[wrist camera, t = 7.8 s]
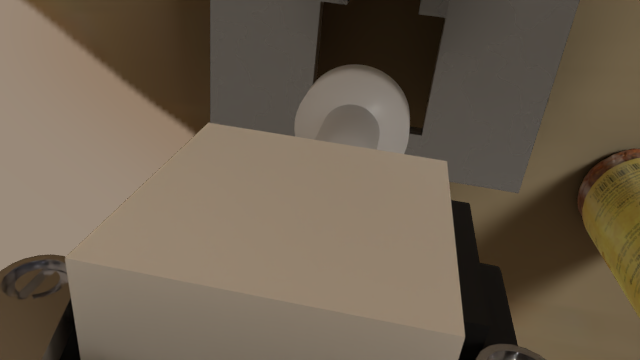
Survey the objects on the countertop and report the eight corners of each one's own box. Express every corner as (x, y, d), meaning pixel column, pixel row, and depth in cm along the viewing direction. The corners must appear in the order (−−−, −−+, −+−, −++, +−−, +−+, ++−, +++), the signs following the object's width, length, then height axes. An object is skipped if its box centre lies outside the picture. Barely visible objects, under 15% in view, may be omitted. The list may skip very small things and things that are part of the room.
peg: (295, 41, 18) (64, 257, 7) (436, 60, 18) (465, 337, 6) (285, 166, 21) (102, 497, 9) (410, 187, 20) (394, 569, 8)
